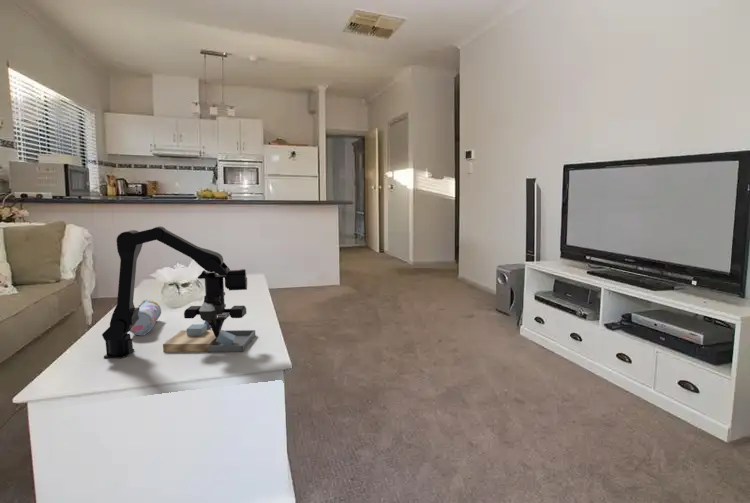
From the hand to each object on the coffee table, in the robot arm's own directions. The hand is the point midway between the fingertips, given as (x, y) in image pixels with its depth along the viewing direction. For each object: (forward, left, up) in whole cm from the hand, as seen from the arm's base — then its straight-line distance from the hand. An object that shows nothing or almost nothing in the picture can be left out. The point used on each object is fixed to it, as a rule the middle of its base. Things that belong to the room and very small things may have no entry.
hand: (217, 336), depth 144 cm
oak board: (-9, +3, -4) cm, 10 cm away
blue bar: (-18, +29, -4) cm, 34 cm away
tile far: (-9, +7, -1) cm, 12 cm away
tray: (+4, +3, -4) cm, 6 cm away
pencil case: (-34, +21, -4) cm, 41 cm away
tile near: (+2, +1, -2) cm, 3 cm away
